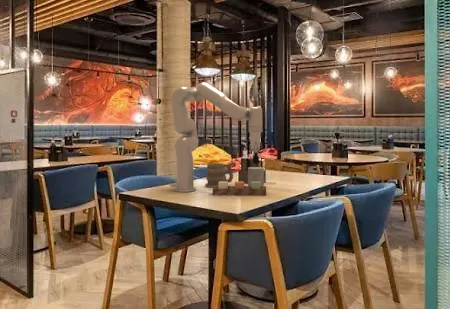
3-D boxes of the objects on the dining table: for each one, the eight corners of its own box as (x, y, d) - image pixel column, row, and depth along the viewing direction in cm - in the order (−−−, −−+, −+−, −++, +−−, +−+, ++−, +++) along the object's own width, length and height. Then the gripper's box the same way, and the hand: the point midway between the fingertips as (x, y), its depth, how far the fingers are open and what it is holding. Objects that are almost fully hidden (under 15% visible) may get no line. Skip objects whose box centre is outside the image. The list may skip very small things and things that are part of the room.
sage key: (251, 190, 224) (251, 182, 223) (251, 189, 229) (251, 181, 228) (260, 191, 223) (260, 182, 223) (260, 189, 228) (260, 181, 228)
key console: (212, 195, 223) (212, 188, 223) (214, 192, 233) (214, 185, 233) (266, 195, 221) (266, 189, 220) (265, 192, 231) (265, 186, 230)
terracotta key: (234, 190, 224) (234, 182, 224) (235, 189, 229) (235, 181, 229) (243, 190, 224) (243, 182, 224) (244, 189, 229) (244, 181, 229)
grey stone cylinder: (266, 187, 246) (266, 167, 245) (259, 190, 238) (259, 169, 237) (252, 186, 251) (252, 166, 250) (245, 189, 242) (244, 168, 241)
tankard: (210, 188, 244) (209, 163, 243) (203, 185, 256) (202, 161, 255) (240, 186, 252) (240, 162, 250) (232, 183, 263) (232, 160, 262)
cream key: (218, 190, 225) (218, 182, 225) (219, 189, 230) (219, 181, 230) (227, 190, 225) (227, 182, 224) (228, 189, 230) (228, 181, 229)
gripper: (248, 129, 231) (249, 161, 232) (248, 130, 216) (248, 164, 218) (262, 129, 230) (262, 161, 232) (262, 129, 216) (263, 164, 217)
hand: (255, 163), depth 225 cm, fingers closed
